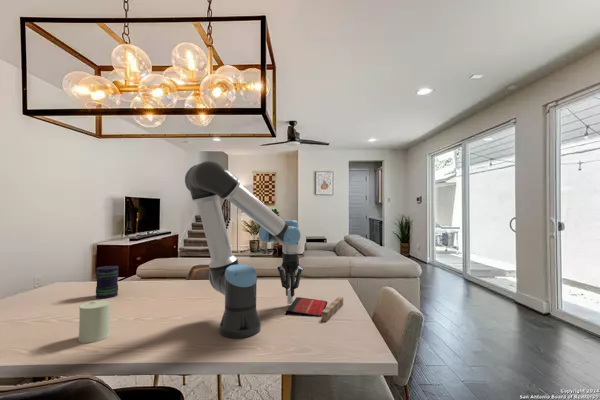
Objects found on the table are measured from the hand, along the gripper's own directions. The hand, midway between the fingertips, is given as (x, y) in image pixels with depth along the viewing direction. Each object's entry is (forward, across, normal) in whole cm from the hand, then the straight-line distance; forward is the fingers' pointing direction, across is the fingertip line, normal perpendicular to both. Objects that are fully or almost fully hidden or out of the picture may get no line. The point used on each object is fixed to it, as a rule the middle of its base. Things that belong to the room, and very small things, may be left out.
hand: (290, 302), depth 142 cm
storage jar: (+2, +94, +26) cm, 97 cm away
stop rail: (+1, -21, 0) cm, 21 cm away
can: (+2, +48, +60) cm, 77 cm away
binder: (+2, -9, 0) cm, 9 cm away
